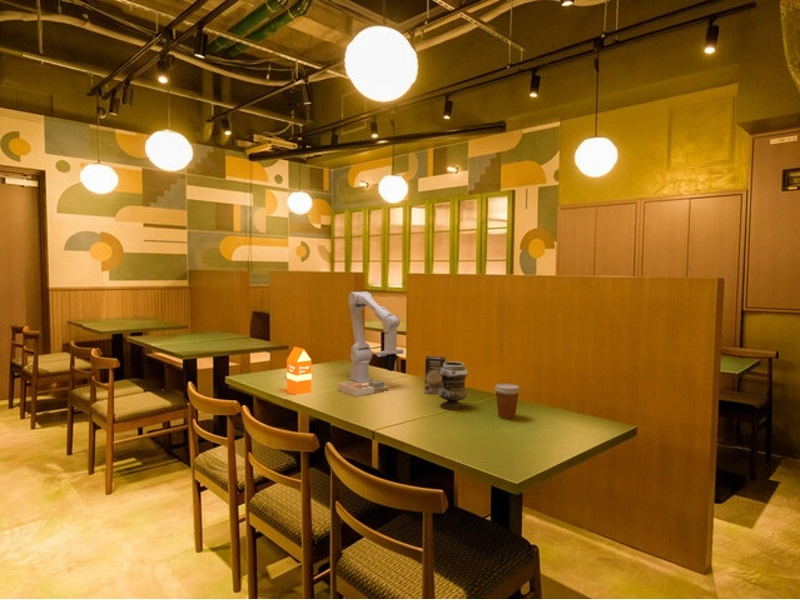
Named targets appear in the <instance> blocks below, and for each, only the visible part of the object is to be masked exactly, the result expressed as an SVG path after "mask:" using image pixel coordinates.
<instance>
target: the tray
mask: <svg viewBox="0 0 800 600" xmlns="http://www.w3.org/2000/svg"><path fill="white" fill-rule="evenodd" d="M351 383H356V381H354V380H352V381H347V382H346V381H345V382H337V391H338V390H339V391H338V392H341V391H342V392H341V393H344V394H346V393H347V395H349V394H350V395H349V396H352V395H353V397H355V398H359V396H360V397H364V395H365V396H369V395H375V393H374V390H373V387H370V388H366V387H363V386H362V389H359V390H358V389H356V388H353V387H350V386H347V384H351Z"/></svg>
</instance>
